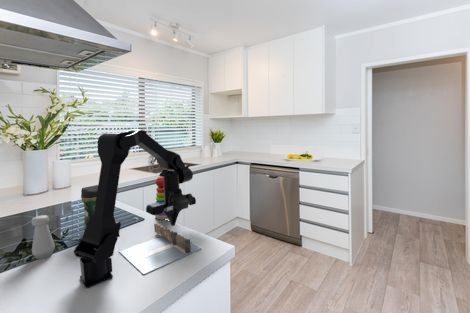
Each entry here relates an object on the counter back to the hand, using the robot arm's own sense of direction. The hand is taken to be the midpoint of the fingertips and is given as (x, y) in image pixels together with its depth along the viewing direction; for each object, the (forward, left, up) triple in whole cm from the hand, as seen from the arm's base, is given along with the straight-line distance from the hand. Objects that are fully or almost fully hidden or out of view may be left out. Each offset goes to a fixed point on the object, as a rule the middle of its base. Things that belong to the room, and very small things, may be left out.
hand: (173, 225), depth 95 cm
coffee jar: (-20, +21, -3) cm, 29 cm away
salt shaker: (-38, +14, -3) cm, 41 cm away
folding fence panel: (-5, -2, -2) cm, 6 cm away
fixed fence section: (-5, -14, -2) cm, 15 cm away
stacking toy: (+6, +17, -3) cm, 18 cm away
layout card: (-11, -10, -2) cm, 15 cm away
